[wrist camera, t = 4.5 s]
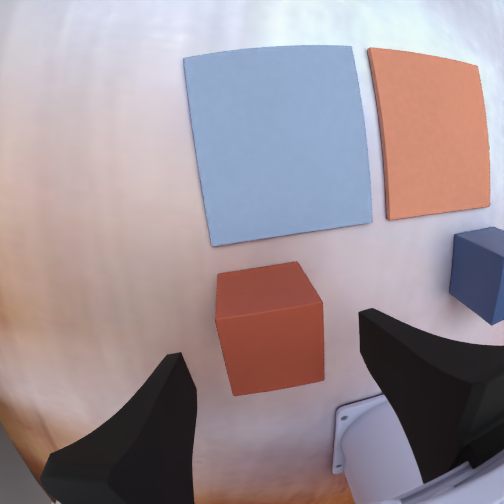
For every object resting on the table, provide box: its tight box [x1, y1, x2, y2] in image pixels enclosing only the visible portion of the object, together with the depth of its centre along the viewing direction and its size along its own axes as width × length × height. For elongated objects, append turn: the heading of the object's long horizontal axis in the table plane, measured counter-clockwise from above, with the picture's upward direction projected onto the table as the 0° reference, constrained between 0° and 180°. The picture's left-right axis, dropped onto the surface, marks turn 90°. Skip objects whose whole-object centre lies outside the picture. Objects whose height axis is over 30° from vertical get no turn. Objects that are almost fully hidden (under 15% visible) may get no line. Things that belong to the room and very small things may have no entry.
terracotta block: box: [215, 262, 325, 396], centre depth 14 cm, size 4×4×4 cm
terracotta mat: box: [367, 48, 490, 220], centre depth 14 cm, size 9×8×1 cm
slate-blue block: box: [449, 227, 504, 325], centre depth 14 cm, size 4×4×4 cm
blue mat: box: [183, 45, 373, 246], centre depth 13 cm, size 9×8×1 cm
